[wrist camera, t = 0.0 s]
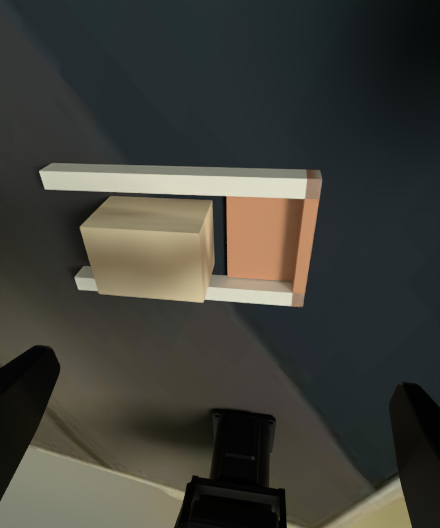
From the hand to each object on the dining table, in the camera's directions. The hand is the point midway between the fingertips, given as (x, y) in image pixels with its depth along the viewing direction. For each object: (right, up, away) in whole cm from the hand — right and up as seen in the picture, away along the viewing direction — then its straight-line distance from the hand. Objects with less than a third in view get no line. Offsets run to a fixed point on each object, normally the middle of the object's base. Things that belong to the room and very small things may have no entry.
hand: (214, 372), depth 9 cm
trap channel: (-2, +5, +15) cm, 16 cm away
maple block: (-4, +5, +15) cm, 17 cm away
